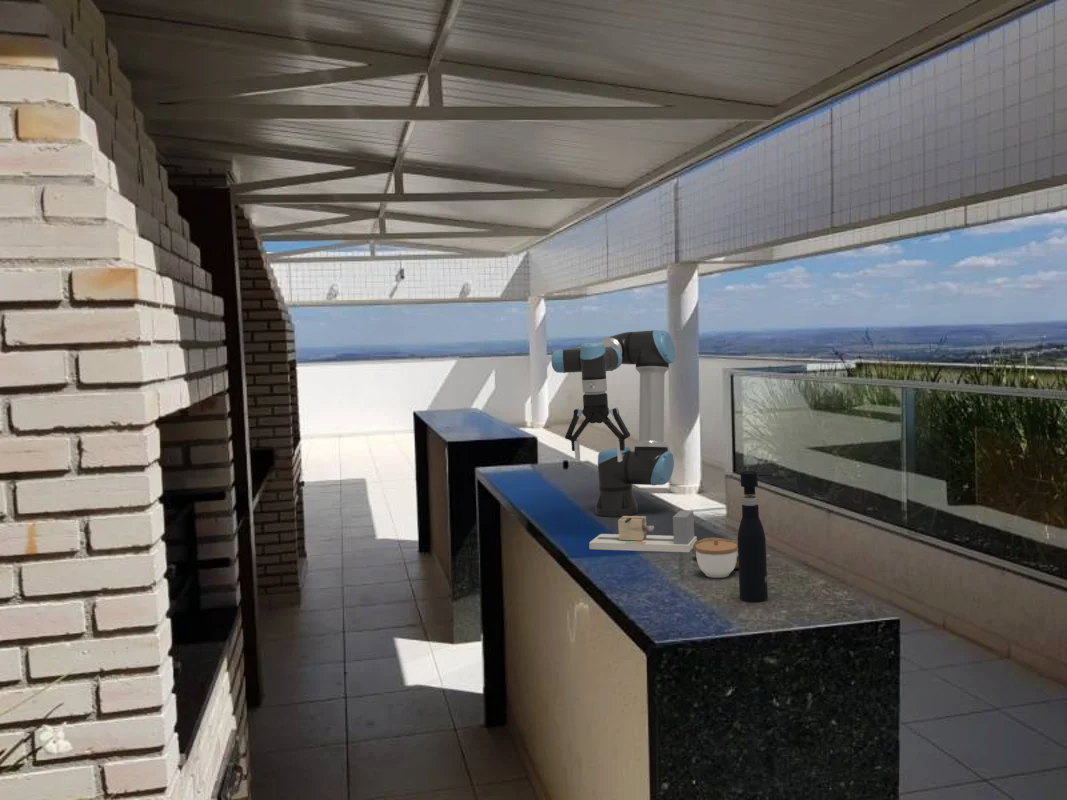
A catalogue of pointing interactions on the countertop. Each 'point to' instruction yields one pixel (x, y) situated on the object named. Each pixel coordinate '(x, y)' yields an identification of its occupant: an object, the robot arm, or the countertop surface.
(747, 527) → the wine bottle
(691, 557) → the countertop surface
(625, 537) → the gauge carriage
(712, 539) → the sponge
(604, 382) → the robot arm
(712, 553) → the lidded jar
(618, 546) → the bench
